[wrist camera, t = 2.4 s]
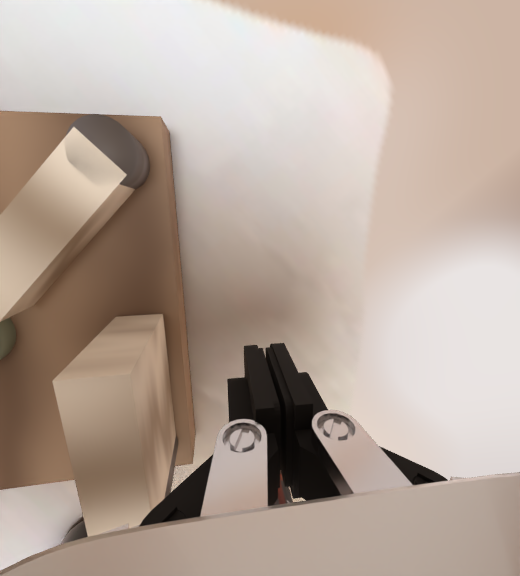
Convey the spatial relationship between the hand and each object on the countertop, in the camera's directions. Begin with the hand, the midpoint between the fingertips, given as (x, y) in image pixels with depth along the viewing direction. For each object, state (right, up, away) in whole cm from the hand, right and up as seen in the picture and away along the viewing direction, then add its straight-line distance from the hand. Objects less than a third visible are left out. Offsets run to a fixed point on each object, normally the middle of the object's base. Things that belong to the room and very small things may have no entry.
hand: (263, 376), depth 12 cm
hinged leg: (-7, -2, +5) cm, 8 cm away
